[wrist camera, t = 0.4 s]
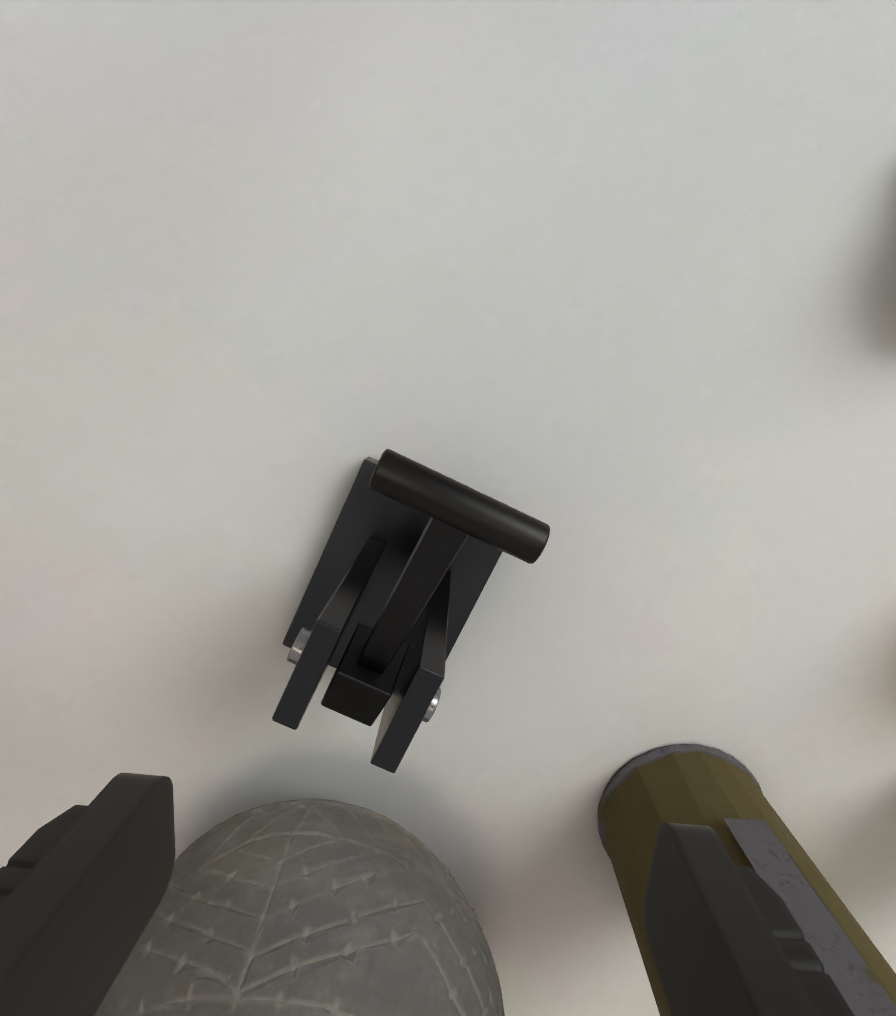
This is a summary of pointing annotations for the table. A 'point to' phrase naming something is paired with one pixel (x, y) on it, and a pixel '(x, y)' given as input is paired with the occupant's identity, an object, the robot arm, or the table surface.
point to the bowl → (309, 925)
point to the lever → (421, 574)
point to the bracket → (361, 598)
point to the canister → (735, 860)
